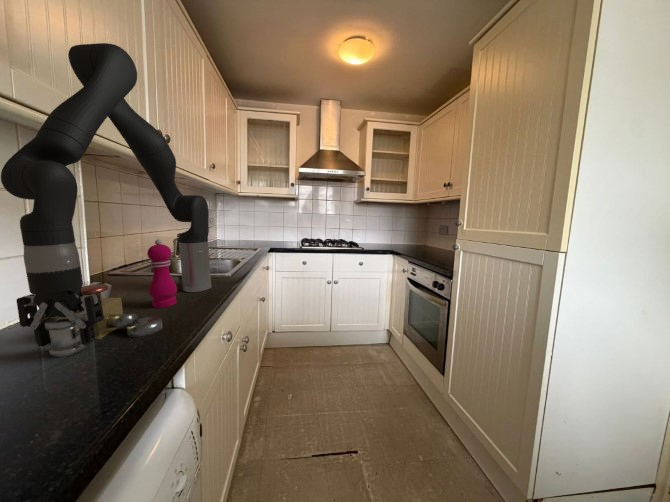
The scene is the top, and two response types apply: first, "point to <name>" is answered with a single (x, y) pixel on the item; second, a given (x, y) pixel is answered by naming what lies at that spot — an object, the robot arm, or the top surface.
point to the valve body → (120, 316)
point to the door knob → (63, 337)
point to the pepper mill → (161, 276)
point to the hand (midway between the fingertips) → (67, 343)
